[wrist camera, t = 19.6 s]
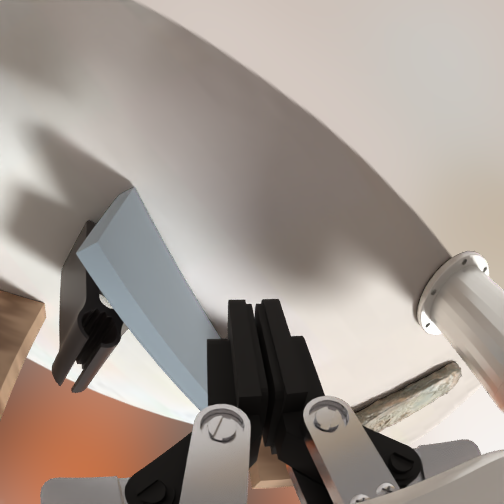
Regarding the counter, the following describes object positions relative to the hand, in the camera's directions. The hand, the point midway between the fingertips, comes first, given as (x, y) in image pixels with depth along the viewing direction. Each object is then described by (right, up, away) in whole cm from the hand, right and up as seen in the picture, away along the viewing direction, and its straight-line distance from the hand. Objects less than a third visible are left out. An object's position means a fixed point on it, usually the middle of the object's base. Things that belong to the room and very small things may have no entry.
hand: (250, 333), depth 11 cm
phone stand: (-12, +1, +16) cm, 21 cm away
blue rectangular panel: (-6, 0, +17) cm, 18 cm away
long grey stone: (+21, -25, +36) cm, 48 cm away
